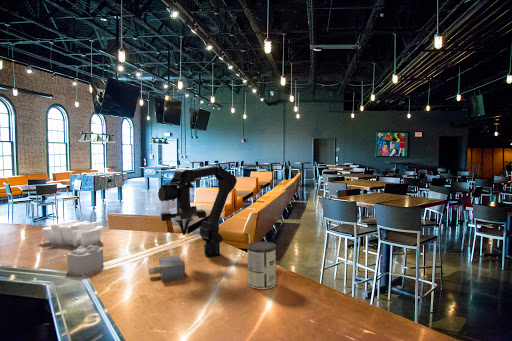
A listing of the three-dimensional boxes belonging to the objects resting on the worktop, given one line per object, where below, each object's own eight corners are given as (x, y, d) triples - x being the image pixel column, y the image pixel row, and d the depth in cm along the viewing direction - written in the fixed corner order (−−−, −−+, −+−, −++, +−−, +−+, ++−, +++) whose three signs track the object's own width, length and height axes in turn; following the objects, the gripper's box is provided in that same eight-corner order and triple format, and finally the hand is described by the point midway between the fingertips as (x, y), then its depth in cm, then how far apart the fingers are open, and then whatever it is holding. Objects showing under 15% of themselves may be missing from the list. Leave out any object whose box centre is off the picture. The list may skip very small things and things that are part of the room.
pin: (183, 269, 127) (182, 258, 126) (185, 273, 122) (184, 262, 122) (149, 274, 122) (148, 262, 122) (149, 278, 117) (149, 266, 117)
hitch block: (179, 267, 130) (179, 255, 129) (183, 278, 119) (183, 264, 118) (158, 270, 127) (158, 257, 126) (161, 281, 116) (161, 267, 115)
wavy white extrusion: (111, 242, 169) (111, 223, 169) (83, 251, 154) (83, 229, 154) (67, 236, 183) (66, 218, 183) (38, 243, 168) (37, 223, 168)
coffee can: (253, 277, 120) (252, 240, 119) (279, 280, 116) (279, 242, 116) (243, 287, 110) (242, 247, 109) (271, 291, 107) (271, 250, 106)
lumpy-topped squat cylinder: (64, 271, 127) (63, 250, 126) (92, 261, 138) (92, 242, 138) (81, 275, 122) (81, 253, 122) (109, 264, 134) (109, 244, 134)
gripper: (162, 202, 124) (163, 241, 125) (209, 200, 131) (209, 237, 132) (159, 199, 134) (160, 235, 135) (203, 196, 141) (203, 231, 142)
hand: (183, 234), depth 136 cm, fingers closed
